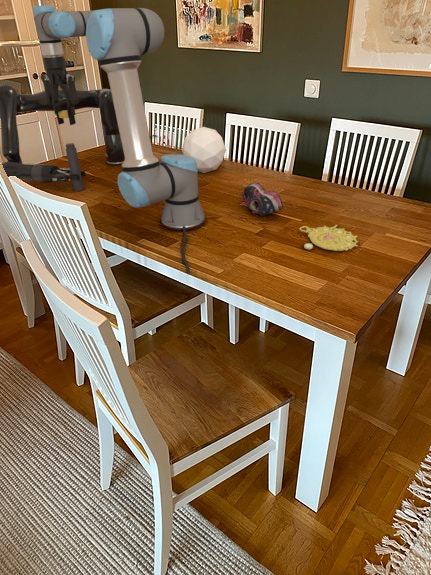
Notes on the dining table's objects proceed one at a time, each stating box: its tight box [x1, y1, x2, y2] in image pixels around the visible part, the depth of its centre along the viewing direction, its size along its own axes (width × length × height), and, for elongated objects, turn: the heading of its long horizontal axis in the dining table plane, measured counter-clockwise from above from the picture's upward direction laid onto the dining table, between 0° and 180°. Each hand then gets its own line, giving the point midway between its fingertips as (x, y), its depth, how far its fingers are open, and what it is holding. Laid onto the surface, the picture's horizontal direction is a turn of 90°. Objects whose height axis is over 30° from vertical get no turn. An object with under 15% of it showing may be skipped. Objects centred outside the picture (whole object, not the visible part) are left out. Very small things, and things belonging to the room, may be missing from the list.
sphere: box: [181, 126, 227, 174], centre depth 199 cm, size 19×20×20 cm
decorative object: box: [299, 224, 359, 252], centre depth 141 cm, size 21×2×20 cm
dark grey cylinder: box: [65, 142, 85, 192], centre depth 182 cm, size 4×4×19 cm
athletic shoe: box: [238, 182, 284, 217], centre depth 160 cm, size 11×22×12 cm
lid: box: [58, 110, 69, 119], centre depth 169 cm, size 5×5×2 cm
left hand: (82, 175), depth 184 cm, fingers closed on dark grey cylinder, 4 cm apart
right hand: (67, 123), depth 171 cm, fingers closed on lid, 5 cm apart
